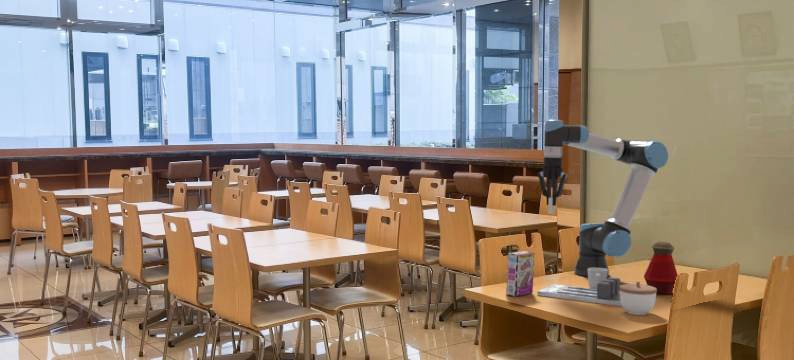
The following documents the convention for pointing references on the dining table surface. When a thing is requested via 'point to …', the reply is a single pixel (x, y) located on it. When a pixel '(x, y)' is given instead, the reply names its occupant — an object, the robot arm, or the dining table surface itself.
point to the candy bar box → (520, 273)
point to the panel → (578, 294)
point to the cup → (596, 276)
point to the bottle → (661, 269)
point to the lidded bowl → (637, 298)
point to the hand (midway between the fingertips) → (551, 213)
